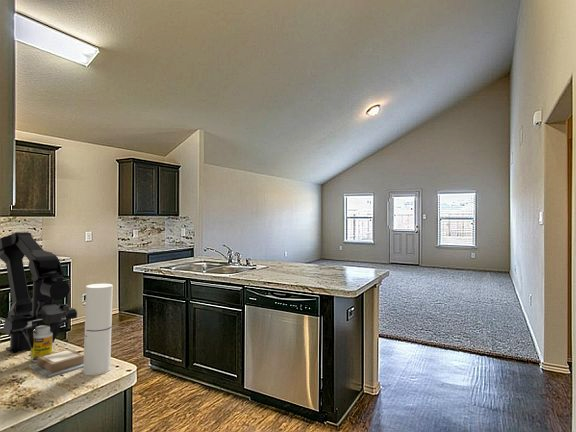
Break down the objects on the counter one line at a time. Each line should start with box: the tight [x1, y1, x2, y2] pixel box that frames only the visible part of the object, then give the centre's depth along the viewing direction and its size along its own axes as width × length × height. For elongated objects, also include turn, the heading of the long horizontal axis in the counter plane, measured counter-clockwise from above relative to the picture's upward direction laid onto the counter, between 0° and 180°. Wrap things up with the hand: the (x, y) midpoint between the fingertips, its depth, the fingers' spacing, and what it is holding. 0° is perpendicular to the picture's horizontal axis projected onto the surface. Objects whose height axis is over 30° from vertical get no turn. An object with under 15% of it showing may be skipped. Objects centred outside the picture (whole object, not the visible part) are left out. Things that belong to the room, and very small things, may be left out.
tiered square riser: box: [29, 348, 84, 379], centre depth 115 cm, size 12×12×3 cm
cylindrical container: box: [82, 283, 114, 376], centre depth 113 cm, size 7×7×25 cm
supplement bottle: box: [30, 324, 53, 363], centre depth 120 cm, size 6×6×10 cm
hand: (41, 345), depth 120 cm, fingers closed on supplement bottle, 6 cm apart
